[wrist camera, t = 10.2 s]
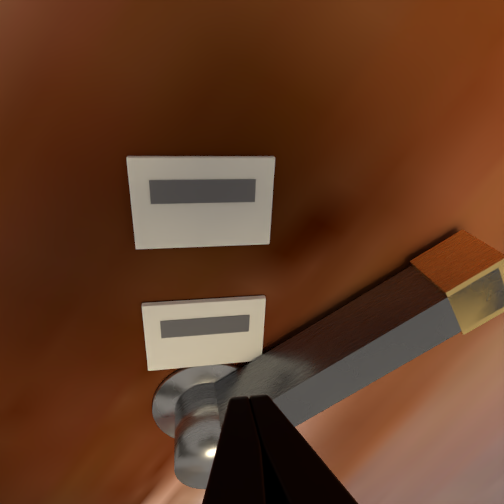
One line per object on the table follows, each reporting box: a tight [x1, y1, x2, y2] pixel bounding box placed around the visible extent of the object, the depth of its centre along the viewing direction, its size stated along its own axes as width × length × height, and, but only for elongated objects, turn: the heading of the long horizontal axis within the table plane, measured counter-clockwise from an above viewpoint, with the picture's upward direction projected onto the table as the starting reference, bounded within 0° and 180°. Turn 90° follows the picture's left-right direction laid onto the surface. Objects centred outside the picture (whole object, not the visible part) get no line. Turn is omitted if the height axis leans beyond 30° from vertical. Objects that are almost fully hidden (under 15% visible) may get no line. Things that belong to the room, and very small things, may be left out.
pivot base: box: [152, 363, 240, 438], centre depth 22 cm, size 6×6×1 cm
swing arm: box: [175, 230, 504, 489], centre depth 20 cm, size 18×4×4 cm, turn 121°
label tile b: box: [126, 156, 275, 249], centre depth 17 cm, size 6×4×1 cm, turn 88°
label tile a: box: [142, 295, 266, 371], centre depth 20 cm, size 6×4×1 cm, turn 88°
